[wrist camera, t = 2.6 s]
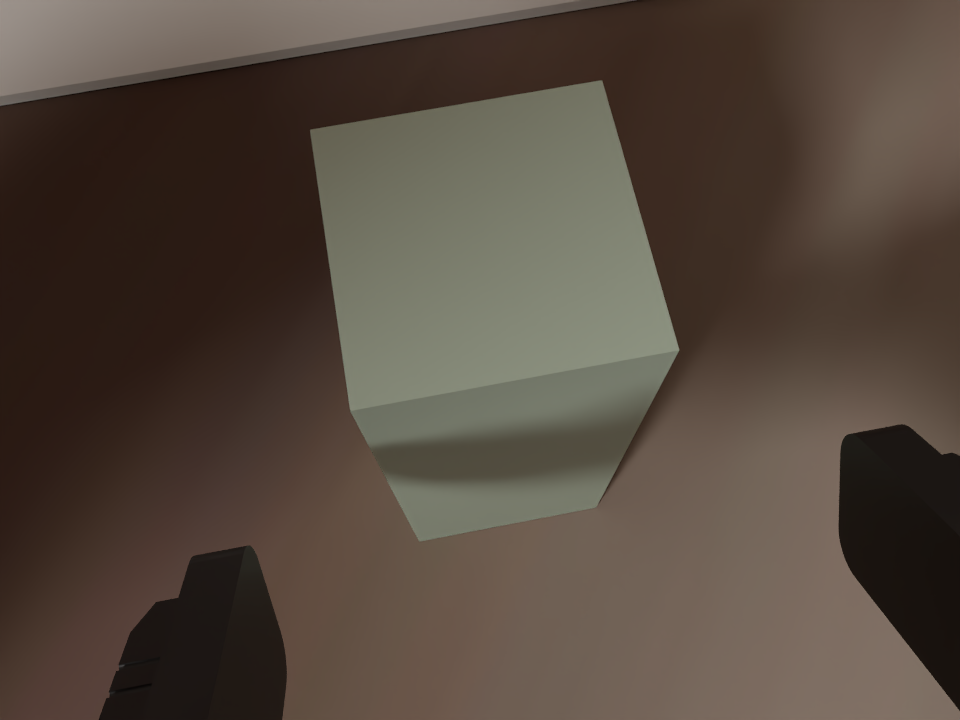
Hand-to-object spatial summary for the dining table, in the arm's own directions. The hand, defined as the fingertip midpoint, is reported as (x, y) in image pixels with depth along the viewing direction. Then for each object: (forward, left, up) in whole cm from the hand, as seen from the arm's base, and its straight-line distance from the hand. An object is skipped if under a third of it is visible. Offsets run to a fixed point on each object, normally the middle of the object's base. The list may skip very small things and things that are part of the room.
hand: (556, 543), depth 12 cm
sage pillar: (0, +4, -10) cm, 11 cm away
